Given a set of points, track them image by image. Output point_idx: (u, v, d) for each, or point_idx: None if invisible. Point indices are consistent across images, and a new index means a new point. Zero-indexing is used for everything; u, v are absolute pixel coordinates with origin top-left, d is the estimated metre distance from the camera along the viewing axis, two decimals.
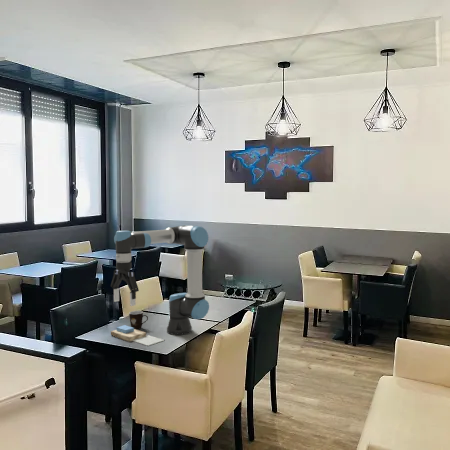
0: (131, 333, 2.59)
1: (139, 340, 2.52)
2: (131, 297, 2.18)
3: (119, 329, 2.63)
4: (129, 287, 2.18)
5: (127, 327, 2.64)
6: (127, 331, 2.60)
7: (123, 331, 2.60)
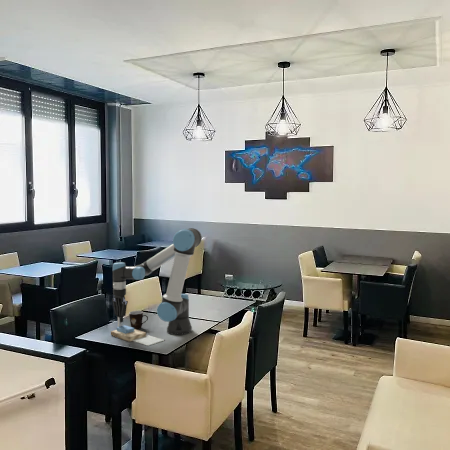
0: (131, 333, 2.59)
1: (139, 340, 2.52)
2: (119, 321, 2.66)
3: (119, 329, 2.62)
4: (119, 312, 2.65)
5: (127, 327, 2.64)
6: (127, 331, 2.59)
7: (123, 331, 2.60)
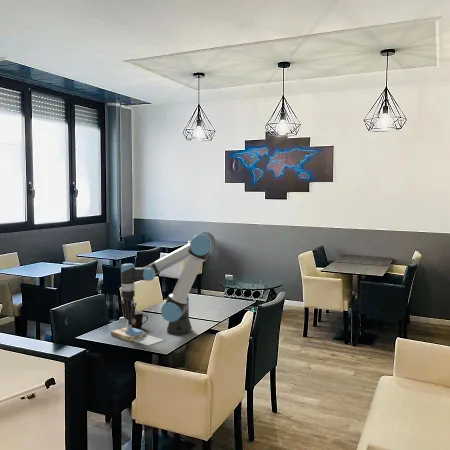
0: None
1: (139, 340, 2.52)
2: (128, 323, 2.60)
3: (128, 332, 2.57)
4: (128, 314, 2.59)
5: (136, 330, 2.58)
6: (136, 334, 2.54)
7: (132, 334, 2.54)
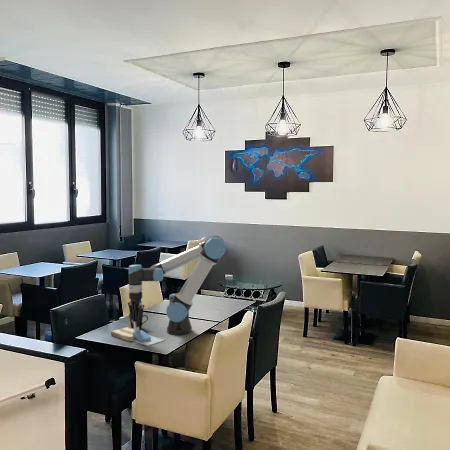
0: (131, 333, 2.59)
1: None
2: (135, 325, 2.55)
3: (135, 335, 2.52)
4: (135, 316, 2.55)
5: (144, 334, 2.53)
6: (144, 340, 2.49)
7: (140, 339, 2.49)
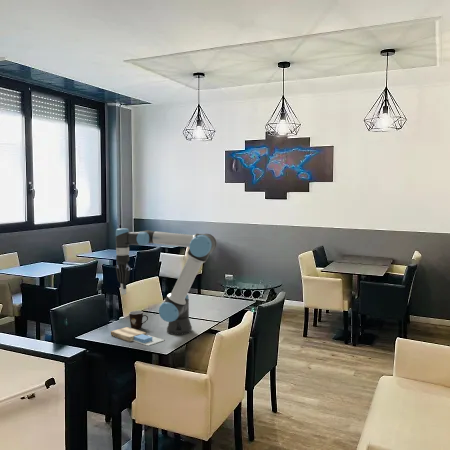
0: (131, 333, 2.59)
1: None
2: (122, 287, 2.62)
3: (137, 338, 2.51)
4: (122, 278, 2.61)
5: (145, 336, 2.53)
6: (145, 341, 2.48)
7: (141, 341, 2.49)
